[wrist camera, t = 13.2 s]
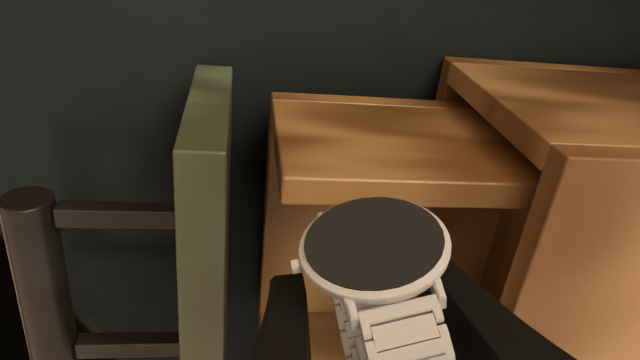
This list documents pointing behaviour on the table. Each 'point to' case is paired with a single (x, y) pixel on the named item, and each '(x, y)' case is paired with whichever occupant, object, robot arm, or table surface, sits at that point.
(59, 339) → the drawer
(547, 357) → the robot arm
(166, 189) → the table surface
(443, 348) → the wristwatch
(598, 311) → the cabinet
